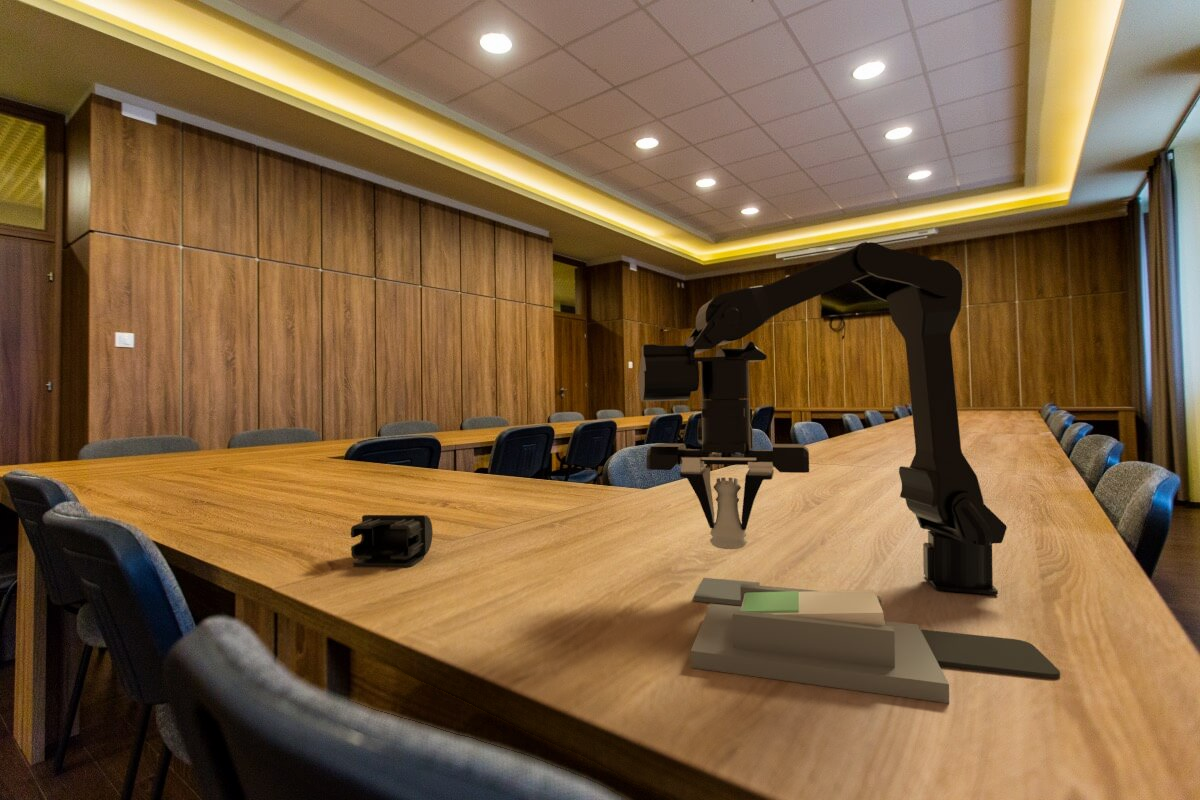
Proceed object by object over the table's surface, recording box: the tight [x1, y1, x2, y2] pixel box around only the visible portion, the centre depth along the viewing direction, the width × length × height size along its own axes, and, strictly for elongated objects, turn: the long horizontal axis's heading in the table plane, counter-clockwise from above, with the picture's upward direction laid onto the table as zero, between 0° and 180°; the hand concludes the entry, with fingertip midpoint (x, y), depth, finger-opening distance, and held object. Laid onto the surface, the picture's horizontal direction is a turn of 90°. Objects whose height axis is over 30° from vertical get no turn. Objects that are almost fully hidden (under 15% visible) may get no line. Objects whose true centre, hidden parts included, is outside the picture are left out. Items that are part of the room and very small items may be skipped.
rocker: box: [740, 589, 886, 626], centre depth 53 cm, size 12×6×2 cm, turn 71°
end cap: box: [350, 514, 433, 569], centre depth 86 cm, size 10×7×7 cm
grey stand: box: [690, 584, 950, 704], centre depth 53 cm, size 20×12×4 cm, turn 71°
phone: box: [920, 628, 1061, 680], centre depth 53 cm, size 7×1×15 cm
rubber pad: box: [693, 577, 761, 607], centre depth 69 cm, size 7×7×1 cm
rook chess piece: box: [709, 477, 748, 550], centre depth 69 cm, size 4×4×8 cm
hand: (728, 528), depth 69 cm, fingers closed on rook chess piece, 3 cm apart
